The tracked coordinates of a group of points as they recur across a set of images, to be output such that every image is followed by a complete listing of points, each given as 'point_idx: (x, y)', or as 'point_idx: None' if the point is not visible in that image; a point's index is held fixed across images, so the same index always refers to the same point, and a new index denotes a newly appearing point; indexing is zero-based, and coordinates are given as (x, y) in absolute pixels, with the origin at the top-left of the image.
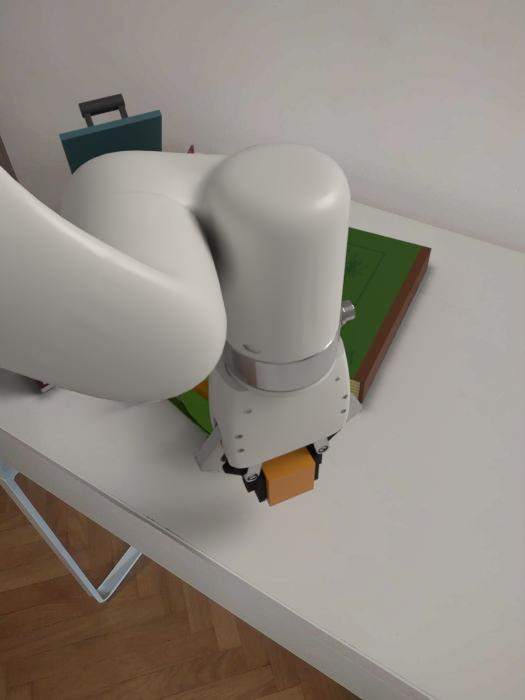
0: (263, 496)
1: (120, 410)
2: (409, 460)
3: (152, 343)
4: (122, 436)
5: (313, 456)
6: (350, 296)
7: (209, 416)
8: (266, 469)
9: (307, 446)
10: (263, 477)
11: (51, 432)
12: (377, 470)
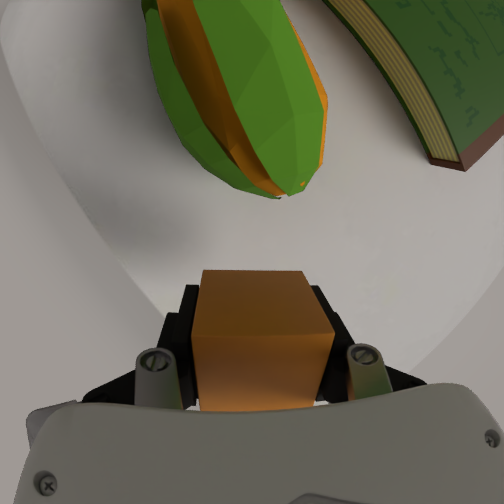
0: None
1: (90, 11)
2: (419, 269)
3: None
4: (74, 52)
5: (318, 398)
6: (496, 40)
7: (166, 94)
8: (207, 401)
9: (323, 379)
10: (196, 398)
11: (19, 38)
12: (386, 265)
